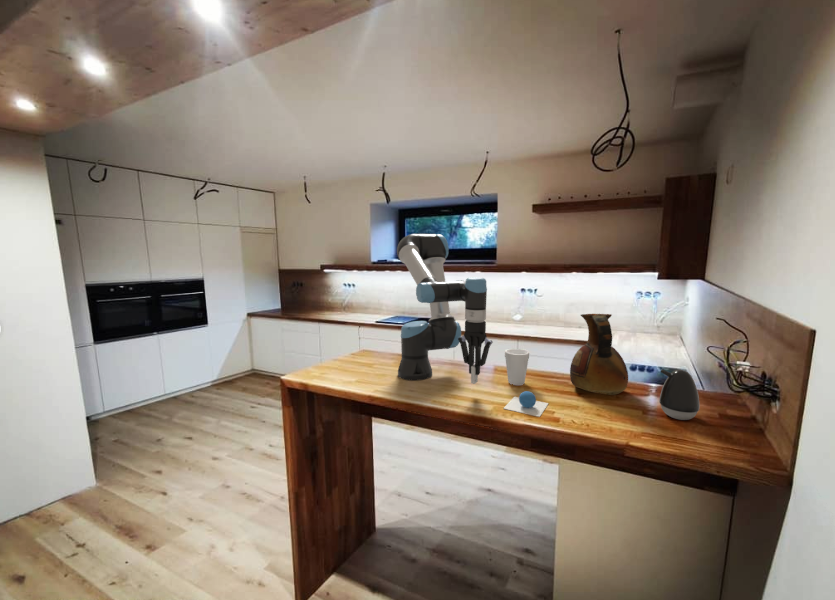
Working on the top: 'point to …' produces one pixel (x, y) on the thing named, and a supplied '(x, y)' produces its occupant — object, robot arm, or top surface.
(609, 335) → the ceramic pitcher
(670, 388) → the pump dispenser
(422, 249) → the robot arm
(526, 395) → the ball
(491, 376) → the top surface
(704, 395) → the top surface
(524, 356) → the foam cup
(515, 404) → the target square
